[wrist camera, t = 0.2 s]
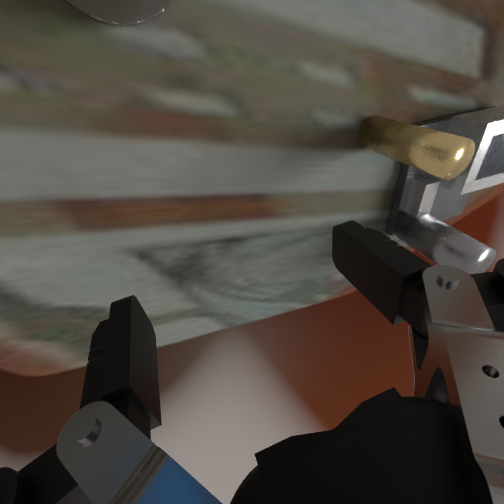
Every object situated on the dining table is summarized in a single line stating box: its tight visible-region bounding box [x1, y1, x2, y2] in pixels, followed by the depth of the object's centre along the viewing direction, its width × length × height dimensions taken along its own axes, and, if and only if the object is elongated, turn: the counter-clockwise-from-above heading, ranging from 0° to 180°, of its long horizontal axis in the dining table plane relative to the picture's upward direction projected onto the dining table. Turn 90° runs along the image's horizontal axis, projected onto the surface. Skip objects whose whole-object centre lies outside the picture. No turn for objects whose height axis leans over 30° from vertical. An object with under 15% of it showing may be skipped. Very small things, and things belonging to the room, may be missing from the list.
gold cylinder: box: [359, 116, 475, 180], centre depth 25 cm, size 3×3×10 cm
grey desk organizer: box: [386, 105, 504, 274], centre depth 32 cm, size 15×12×11 cm
